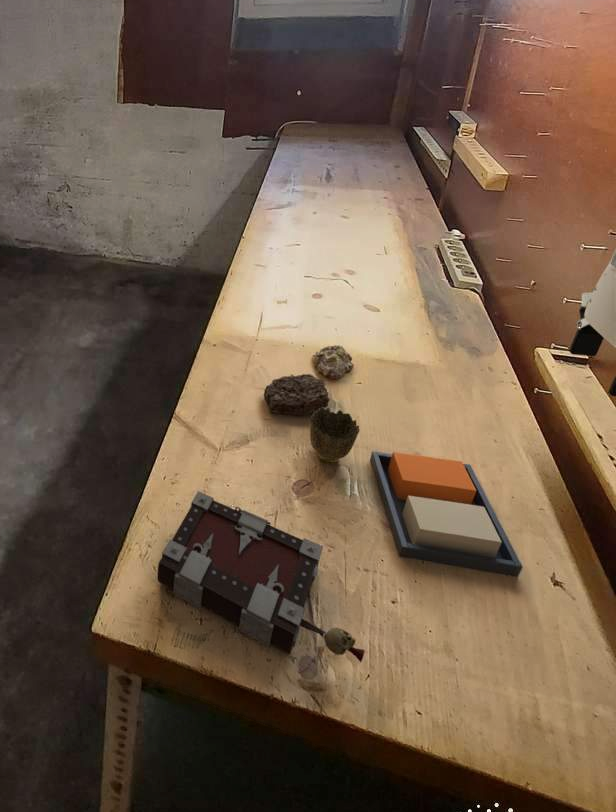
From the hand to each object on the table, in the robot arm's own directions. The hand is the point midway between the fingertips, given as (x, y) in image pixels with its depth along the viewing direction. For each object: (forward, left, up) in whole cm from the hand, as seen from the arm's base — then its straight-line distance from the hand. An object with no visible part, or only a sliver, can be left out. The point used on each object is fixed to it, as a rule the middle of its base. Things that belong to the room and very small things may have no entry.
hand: (601, 373), depth 78 cm
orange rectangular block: (+18, +3, -23) cm, 29 cm away
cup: (+32, -1, -23) cm, 40 cm away
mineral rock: (+27, -29, -23) cm, 46 cm away
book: (+44, +26, -23) cm, 56 cm away
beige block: (+18, +12, -23) cm, 31 cm away
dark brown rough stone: (+36, -15, -23) cm, 45 cm away
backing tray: (+18, +8, -23) cm, 30 cm away
